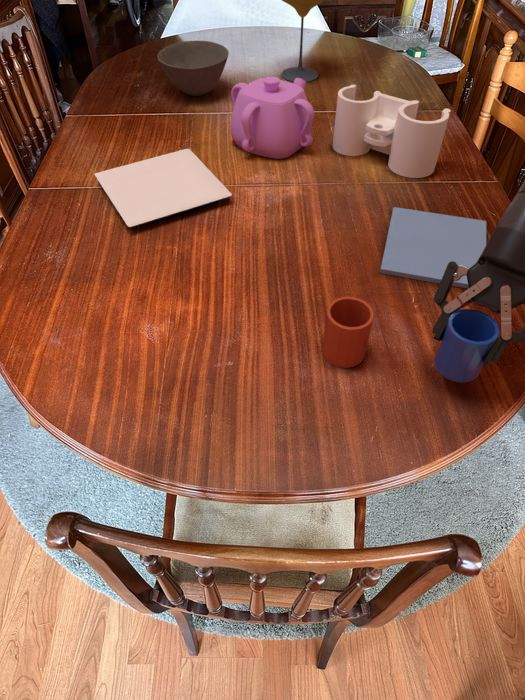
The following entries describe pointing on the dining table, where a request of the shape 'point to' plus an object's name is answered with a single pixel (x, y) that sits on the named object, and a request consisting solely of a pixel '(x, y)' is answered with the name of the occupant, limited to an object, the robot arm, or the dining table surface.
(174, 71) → the bowl
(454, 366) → the blue cup
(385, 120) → the bracket
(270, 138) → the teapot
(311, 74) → the cocktail glass
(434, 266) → the blue mat
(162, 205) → the plate
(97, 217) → the dining table surface
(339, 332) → the terracotta cup
